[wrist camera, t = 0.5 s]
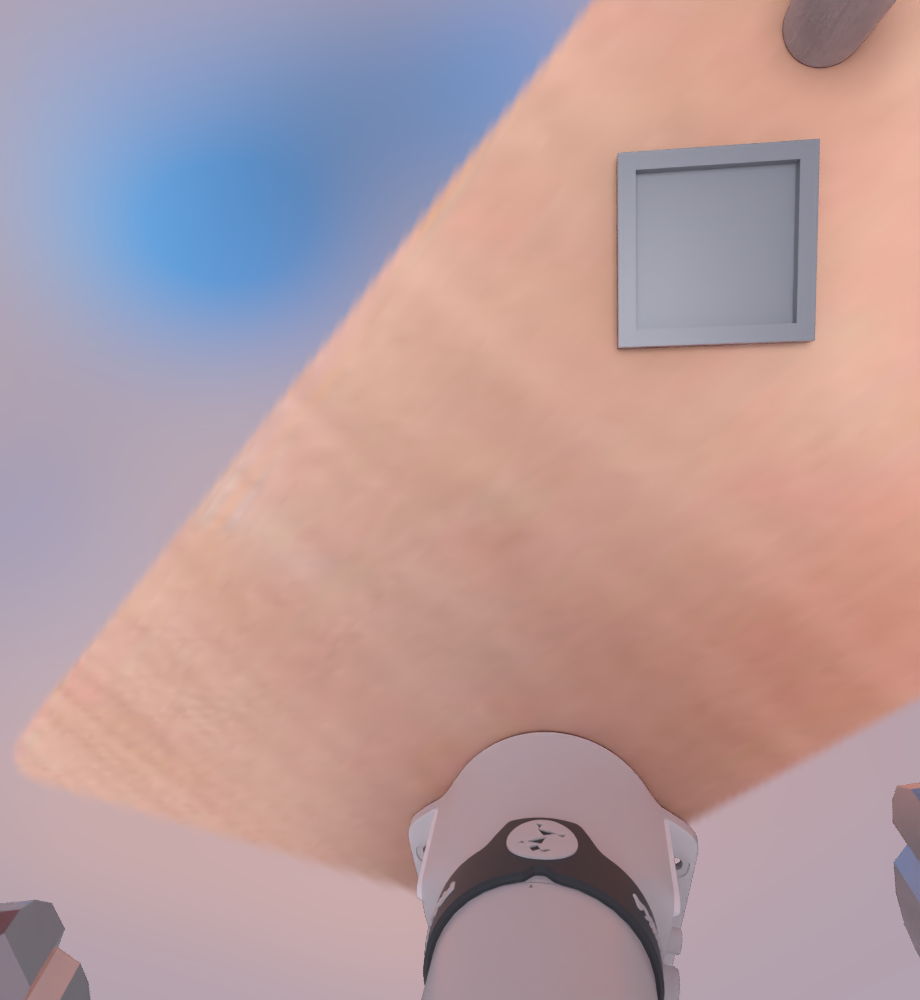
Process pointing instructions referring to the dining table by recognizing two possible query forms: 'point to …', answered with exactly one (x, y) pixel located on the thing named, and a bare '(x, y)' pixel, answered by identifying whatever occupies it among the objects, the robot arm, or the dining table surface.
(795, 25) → the grey cylindrical container
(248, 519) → the dining table surface
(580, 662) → the dining table surface
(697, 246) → the tray
